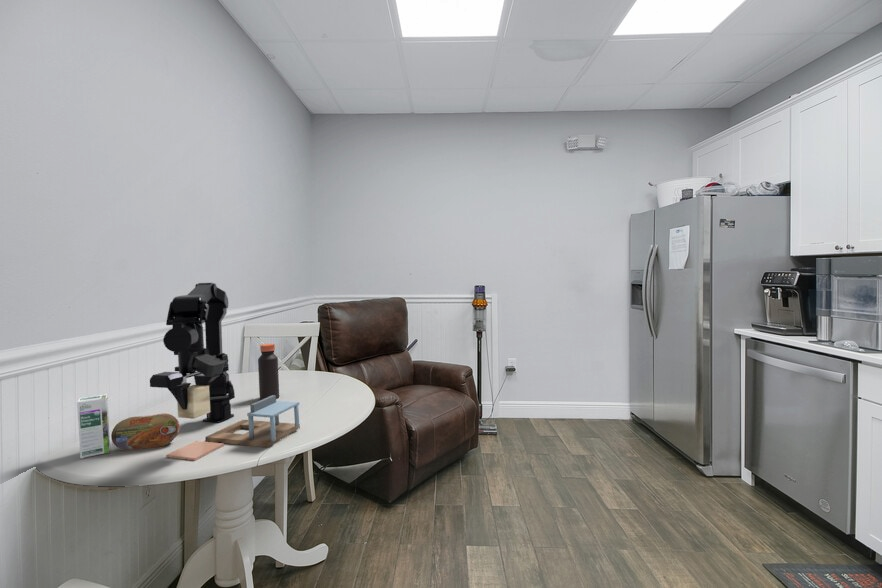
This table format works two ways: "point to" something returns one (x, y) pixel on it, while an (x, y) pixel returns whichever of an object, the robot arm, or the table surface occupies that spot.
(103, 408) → the syrup box
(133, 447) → the tin
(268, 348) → the bottle
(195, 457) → the terracotta tile
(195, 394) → the maple block
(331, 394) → the table surface
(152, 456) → the table surface
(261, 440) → the puzzle board
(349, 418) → the table surface
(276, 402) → the light blue toy bench
